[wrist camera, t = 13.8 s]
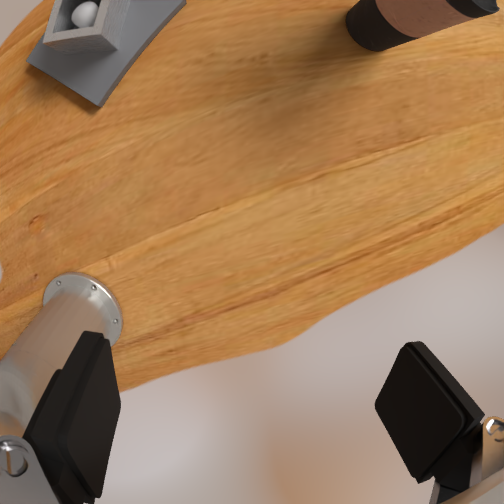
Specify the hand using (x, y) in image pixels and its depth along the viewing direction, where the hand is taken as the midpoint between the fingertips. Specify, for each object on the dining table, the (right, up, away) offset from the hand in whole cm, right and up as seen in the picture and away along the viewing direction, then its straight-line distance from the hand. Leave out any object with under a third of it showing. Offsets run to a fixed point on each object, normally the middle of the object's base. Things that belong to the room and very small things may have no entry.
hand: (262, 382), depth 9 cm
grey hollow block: (-18, +32, +15) cm, 40 cm away
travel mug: (+15, +33, +20) cm, 41 cm away
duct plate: (-18, +31, +17) cm, 39 cm away
